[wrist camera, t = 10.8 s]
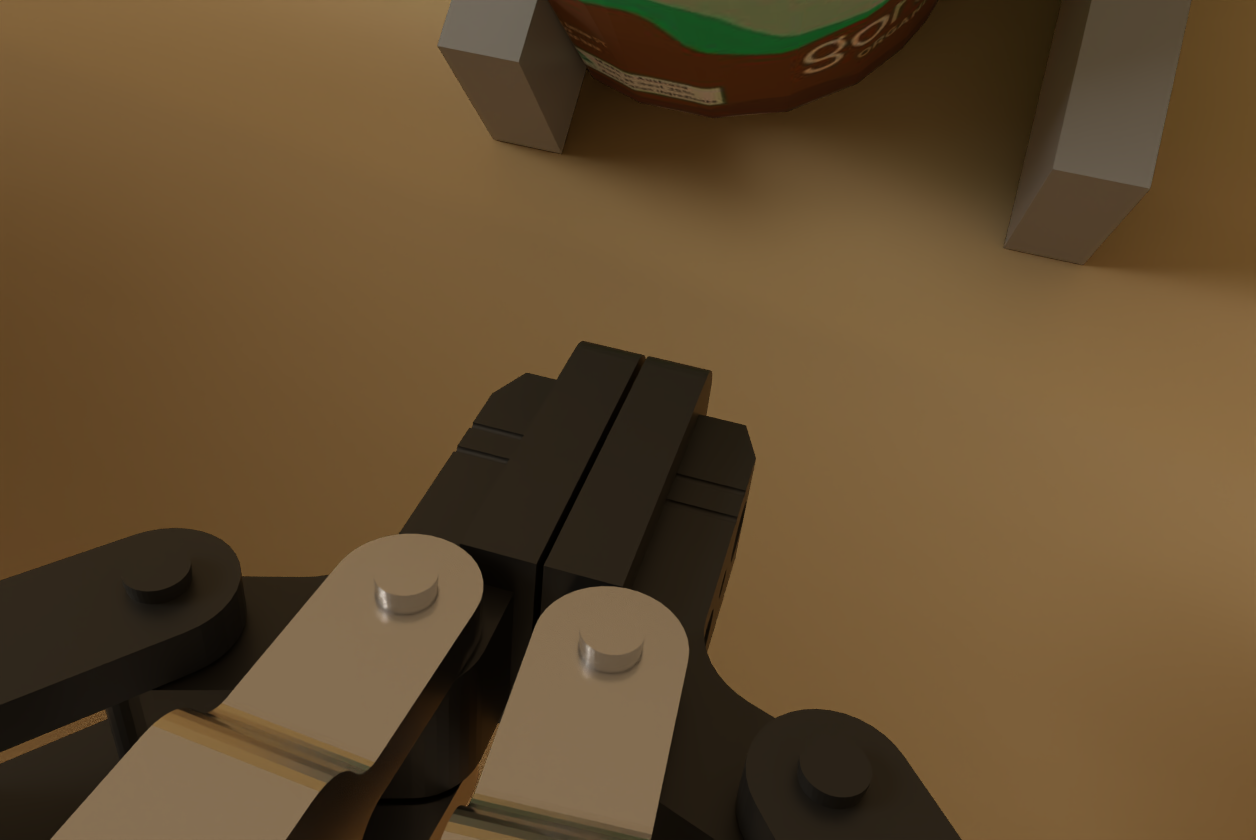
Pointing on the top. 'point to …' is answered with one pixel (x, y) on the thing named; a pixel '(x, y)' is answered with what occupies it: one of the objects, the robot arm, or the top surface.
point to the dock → (1058, 145)
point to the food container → (736, 48)
